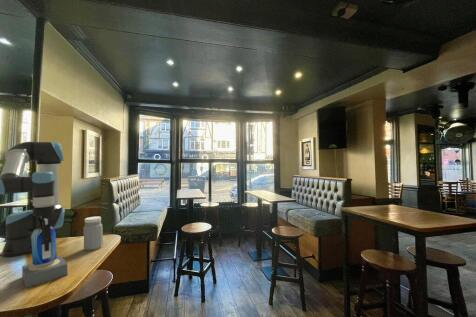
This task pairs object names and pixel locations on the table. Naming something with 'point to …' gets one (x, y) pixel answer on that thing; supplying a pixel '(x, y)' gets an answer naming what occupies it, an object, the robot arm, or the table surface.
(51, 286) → the table surface
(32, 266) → the riser
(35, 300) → the table surface
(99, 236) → the jar
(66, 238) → the table surface
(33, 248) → the beer can
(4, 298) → the table surface
